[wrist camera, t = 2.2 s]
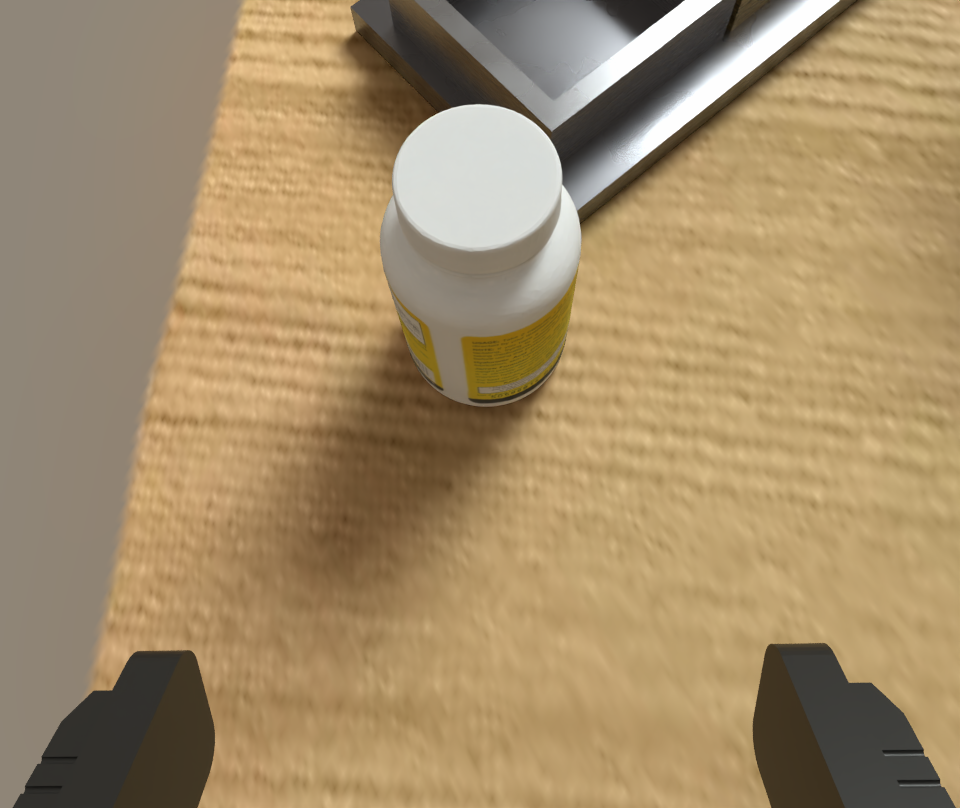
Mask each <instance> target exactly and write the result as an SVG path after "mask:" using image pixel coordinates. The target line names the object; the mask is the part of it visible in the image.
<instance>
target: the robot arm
mask: <svg viewBox="0 0 960 808" xmlns="http://www.w3.org/2000/svg"><path fill="white" fill-rule="evenodd" d="M753 742H754V750H755V756H756V761H757V765H758V768H759V771H760V774H761V777H762V780H763V783H764V786H765V789H766V792H767V795H768V798H769V801H770V804H771V807H772V808H956V807H955V806H954V804H953V802H952V800H951V798H950V797H949V795H948V793H947V791H946V789H945V787H941V784H940V778H939V777H938V775H937V773H936V771H935V769H934V767H933V766H932V764H931V762H930V760H929V758H928V757H925V756H924V752H923V751H924V749H923V747H922V746H921V744H920V742H919V740H918V738H917V737H916V735H915V733H914V731H913V729H912V727H911V726H910V724H909V722H908V720H907V718H906V717H905V715H904V713H903V712H902V711H901V710H900V709H899V708H897V707H896V706H895V705H894V704H893V703H892V702H891V701H890V700H889V699H888V698H887V697H886V696H885V695H884V694H883V693H882V692H881V691H879V690H878V689H877V688H876V687H875V686H874V685H873V684H872V683H848V681H847V679H846V677H845V675H844V673H843V671H842V669H841V667H840V665H839V663H838V661H837V658H836V656H835V654H834V653H833V651H832V649H831V648H830V647H829V646H828V645H827V644H825V643H809V644H770V645H769V646H768V647H767V649H766V652H765V657H764V662H763V668H762V673H761V679H760V684H759V690H758V696H757V701H756V707H755V712H754V718H753ZM214 746H215V730H214V724H213V719H212V715H211V712H210V708H209V704H208V700H207V696H206V693H205V689H204V685H203V681H202V677H201V674H200V670H199V666H198V662H197V659H196V656H195V654H194V653H193V652H192V651H190V650H185V651H137V652H135V653H134V654H133V655H132V656H131V657H130V658H129V660H128V661H127V663H126V665H125V667H124V669H123V671H122V673H121V675H120V677H119V679H118V681H117V682H116V684H115V686H114V688H113V690H112V691H93V692H92V693H91V694H90V695H89V696H88V697H87V698H86V699H85V700H84V701H83V702H81V703H80V704H79V705H78V706H77V707H76V708H75V709H74V710H73V711H72V712H71V713H70V714H69V715H68V716H67V717H66V718H65V719H64V720H63V721H62V722H61V723H60V725H59V727H58V729H57V731H56V732H55V734H54V736H53V738H52V739H51V741H50V743H49V745H48V747H47V748H46V750H45V752H44V754H43V755H42V761H41V764H37V766H36V768H35V769H34V771H33V773H32V775H31V777H30V778H29V780H28V782H27V784H26V785H25V792H24V794H20V796H19V798H18V800H17V801H16V803H15V805H14V807H13V808H197V807H198V805H199V802H200V799H201V796H202V793H203V790H204V787H205V784H206V781H207V779H208V776H209V773H210V769H211V766H212V761H213V755H214Z"/></svg>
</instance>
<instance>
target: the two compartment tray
mask: <svg viewBox="0 0 960 808" xmlns="http://www.w3.org/2000/svg"><path fill="white" fill-rule="evenodd" d="M855 1H857V0H360V1H358V2H357V3H355V4H354V5H353V6H351V12H352V16H353V20H354V24H355V28H356V31H357V32H358V33H359V34H360V35H361V36H362V37H363V38H364V39H365V40H366V41H367V42H368V43H369V44H371V45H372V46H373V47H374V48H375V49H376V50H377V51H378V52H379V53H380V54H381V55H382V56H383V57H384V58H385V59H386V60H387V61H388V62H389V63H390V64H391V65H392V66H393V67H394V68H395V69H396V70H397V71H398V72H399V73H400V74H401V75H402V76H403V77H404V78H405V79H406V80H407V81H408V82H409V83H410V84H411V85H412V86H413V87H414V88H415V89H416V90H417V91H418V92H419V93H420V94H421V95H422V96H423V97H424V98H425V99H426V100H427V101H428V102H429V103H430V104H431V105H432V106H433V107H434V108H435V109H436V110H437V111H438V112H439V113H440V112H442V111H445V110H448V109H451V108H454V107H459V106H463V105H475V104H482V105H493V106H499V107H503V108H506V109H509V110H512V111H515V112H517V113H519V114H521V115H523V116H525V117H526V118H528V119H529V120H531V121H532V122H534V123H535V124H536V125H537V126H539V127H540V128H541V129H542V130H543V132H544V133H545V134H546V135H547V136H548V137H549V139H550V140H551V142H552V143H553V145H554V147H555V149H556V151H557V154H558V156H559V159H560V163H561V168H562V185H563V186H564V187H565V189H566V190H567V192H568V193H569V195H570V197H571V199H572V201H573V203H574V205H575V208H576V211H577V214H578V217H579V222H580V223H581V222H582V221H584V220H585V219H586V218H587V217H589V216H590V215H591V214H592V213H594V212H595V211H596V210H597V209H599V208H600V207H601V206H602V205H604V204H605V203H606V202H607V201H608V200H610V199H611V198H612V197H613V196H615V195H616V194H617V193H618V192H620V191H621V190H622V189H623V188H625V187H626V186H627V185H628V184H630V183H631V182H632V181H633V180H635V179H636V178H637V177H638V176H640V175H641V174H642V173H643V172H644V171H646V170H647V169H648V168H649V167H651V166H652V165H653V164H654V163H656V162H657V161H658V160H659V159H661V158H662V157H663V156H664V155H666V154H667V153H668V152H669V151H671V150H672V149H673V148H674V147H676V146H677V145H678V144H679V143H680V142H682V141H683V140H684V139H685V138H687V137H688V136H689V135H690V134H692V133H693V132H694V131H695V130H697V129H698V128H699V127H700V126H702V125H703V124H704V123H705V122H707V121H708V120H709V119H710V118H712V117H713V116H714V115H715V114H716V113H718V112H719V111H720V110H721V109H723V108H724V107H725V106H726V105H728V104H729V103H730V102H731V101H733V100H734V99H735V98H736V97H738V96H739V95H740V94H741V93H743V92H744V91H745V90H746V89H747V88H749V87H750V86H751V85H752V84H754V83H755V82H756V81H757V80H759V79H760V78H761V77H762V76H764V75H765V74H766V73H767V72H769V71H770V70H771V69H772V68H774V67H775V66H776V65H777V64H779V63H780V62H781V61H782V60H783V59H785V58H786V57H787V56H788V55H790V54H791V53H792V52H793V51H795V50H796V49H797V48H798V47H800V46H801V45H802V44H803V43H805V42H806V41H807V40H808V39H810V38H811V37H812V36H813V35H815V34H816V33H817V32H818V31H819V30H821V29H822V28H823V27H824V26H826V25H827V24H828V23H829V22H831V21H832V20H833V19H834V18H836V17H837V16H838V15H839V14H841V13H842V12H843V11H844V10H846V9H847V8H848V7H849V6H851V5H852V4H853V3H854V2H855Z"/></svg>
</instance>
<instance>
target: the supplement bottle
mask: <svg viewBox="0 0 960 808" xmlns="http://www.w3.org/2000/svg"><path fill="white" fill-rule="evenodd" d="M392 189H393V196H392V198H391V200H390V202H389V204H388V206H387V209H386V212H385V214H384V218H383V222H382V226H381V233H380V249H381V257H382V262H383V268H384V272H385V275H386V278H387V281H388V285H389V288H390V290H391V294H392V297H393V300H394V303H395V306H396V310H397V313H398V316H399V319H400V322H401V326H402V329H403V332H404V335H405V338H406V342H407V346H408V348H409V351H410V354H411V356H412V359H413V361H414V363H415V365H416V367H417V368H418V370H419V372H420V373H421V374H422V376H423V377H424V378H425V380H426V381H427V382H428V383H429V384H430V385H431V386H432V387H433V388H435V389H436V390H437V391H438V392H440V393H441V394H443V395H445V396H446V397H448V398H450V399H452V400H454V401H457V402H460V403H463V404H467V405H472V406H481V407H490V406H499V405H505V404H509V403H512V402H515V401H517V400H520V399H522V398H524V397H526V396H527V395H529V394H531V393H532V392H534V391H535V390H536V389H538V388H539V387H540V386H541V385H542V384H543V383H544V382H545V381H546V380H547V379H548V378H549V376H550V375H551V374H552V372H553V371H554V369H555V368H556V366H557V364H558V362H559V360H560V357H561V355H562V352H563V348H564V345H565V341H566V336H567V331H568V326H569V320H570V314H571V307H572V301H573V295H574V290H575V284H576V278H577V272H578V266H579V260H580V254H581V229H580V222H579V217H578V214H577V211H576V208H575V205H574V203H573V201H572V199H571V197H570V195H569V193H568V192H567V190H566V189H565V187H564V186H563V185H562V168H561V163H560V159H559V156H558V154H557V151H556V149H555V147H554V145H553V143H552V142H551V140H550V139H549V137H548V136H547V135H546V134H545V133H544V132H543V130H542V129H541V128H540V127H539V126H537V125H536V124H535V123H534V122H532V121H531V120H529V119H528V118H526V117H525V116H523V115H521V114H519V113H517V112H515V111H512V110H509V109H506V108H503V107H499V106H493V105H482V104H475V105H463V106H459V107H454V108H451V109H448V110H445V111H442V112H440V113H438V114H436V115H434V116H432V117H430V118H429V119H427V120H426V121H424V122H423V123H422V124H420V125H419V126H418V127H417V128H416V129H415V130H414V131H413V132H412V133H411V134H410V135H409V136H408V137H407V139H406V140H405V142H404V143H403V145H402V146H401V148H400V151H399V153H398V155H397V157H396V160H395V164H394V168H393V174H392Z"/></svg>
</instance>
